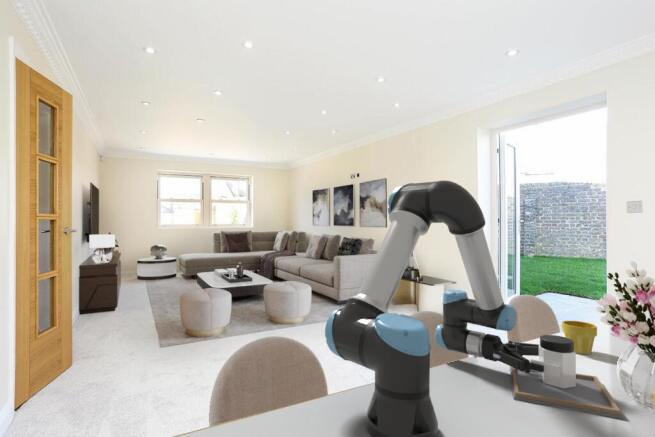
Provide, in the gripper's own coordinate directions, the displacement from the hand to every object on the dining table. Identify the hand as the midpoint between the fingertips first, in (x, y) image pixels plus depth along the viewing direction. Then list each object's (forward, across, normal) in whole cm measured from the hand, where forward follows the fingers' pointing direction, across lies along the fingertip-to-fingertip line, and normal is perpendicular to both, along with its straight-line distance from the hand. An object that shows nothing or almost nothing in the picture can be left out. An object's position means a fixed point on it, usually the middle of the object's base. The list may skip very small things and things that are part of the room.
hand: (565, 364), depth 97 cm
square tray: (-2, 0, -7) cm, 7 cm away
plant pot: (-4, -42, -7) cm, 42 cm away
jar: (-3, -4, -7) cm, 8 cm away
